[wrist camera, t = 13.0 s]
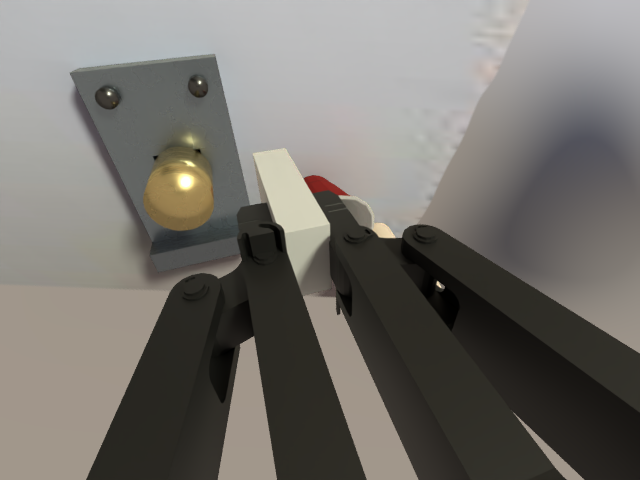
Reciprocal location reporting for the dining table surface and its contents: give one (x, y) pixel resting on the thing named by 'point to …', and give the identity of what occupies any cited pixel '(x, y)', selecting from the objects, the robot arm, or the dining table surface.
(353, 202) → the plastic cup
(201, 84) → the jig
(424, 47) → the dining table surface
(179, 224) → the golden knob
